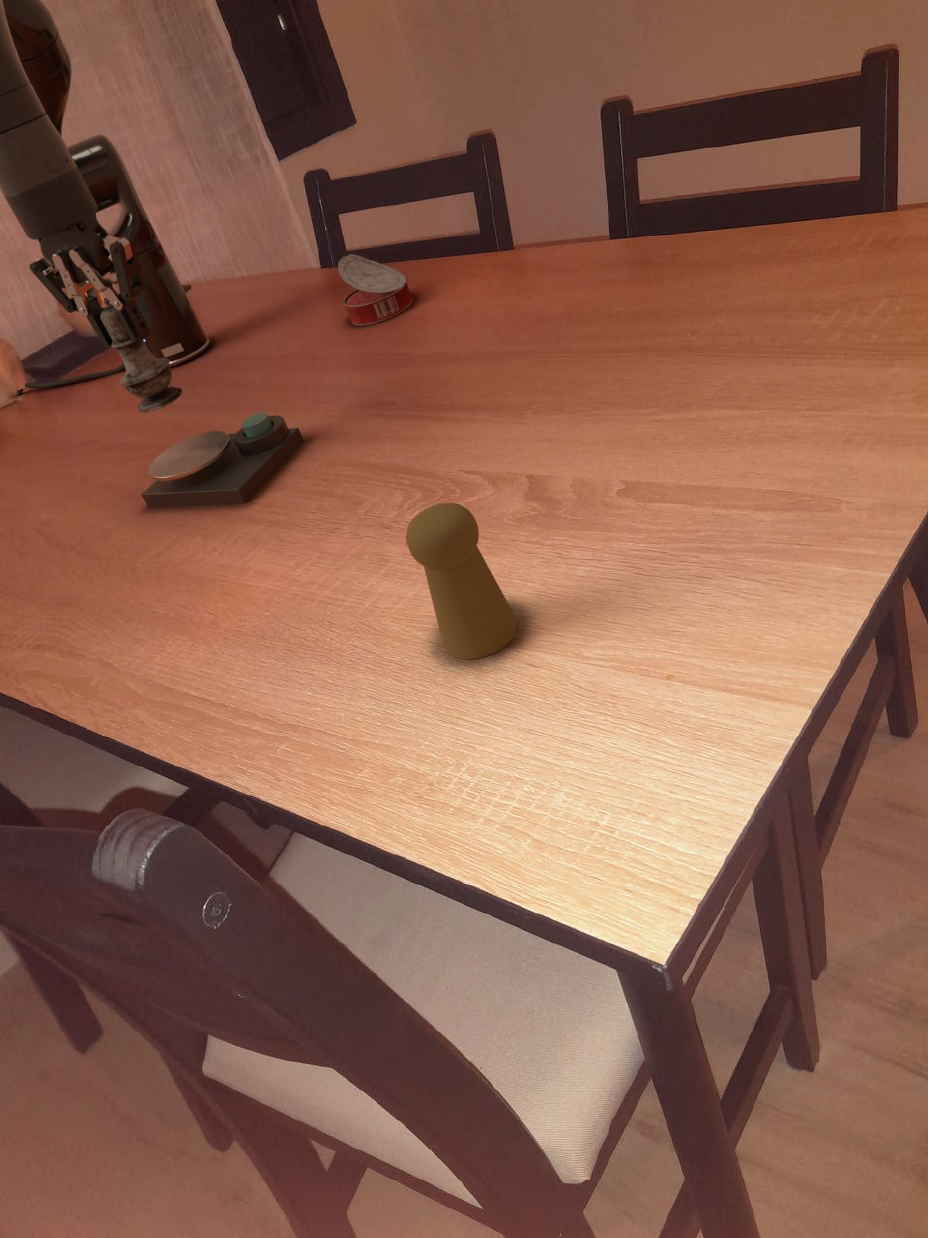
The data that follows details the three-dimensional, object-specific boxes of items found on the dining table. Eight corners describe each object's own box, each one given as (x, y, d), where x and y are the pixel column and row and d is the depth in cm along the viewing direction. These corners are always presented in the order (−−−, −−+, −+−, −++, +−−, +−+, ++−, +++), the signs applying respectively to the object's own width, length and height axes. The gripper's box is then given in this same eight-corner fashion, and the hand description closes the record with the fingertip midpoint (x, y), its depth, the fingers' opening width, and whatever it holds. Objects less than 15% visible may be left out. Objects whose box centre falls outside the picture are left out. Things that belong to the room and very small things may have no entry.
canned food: (394, 326, 149) (397, 258, 146) (422, 329, 141) (425, 257, 138) (326, 322, 144) (327, 252, 141) (350, 325, 135) (352, 250, 132)
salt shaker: (171, 407, 103) (114, 302, 96) (126, 417, 105) (68, 315, 98) (192, 382, 107) (140, 280, 100) (150, 392, 109) (95, 293, 102)
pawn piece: (440, 621, 76) (393, 507, 69) (512, 599, 75) (471, 481, 69) (445, 668, 71) (394, 550, 64) (523, 645, 70) (479, 523, 64)
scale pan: (133, 483, 109) (131, 479, 109) (184, 437, 116) (182, 433, 116) (197, 479, 104) (195, 475, 104) (246, 431, 111) (244, 428, 111)
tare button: (242, 439, 111) (236, 427, 110) (256, 425, 113) (251, 413, 112) (263, 437, 109) (257, 425, 108) (277, 423, 111) (272, 411, 110)
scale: (148, 508, 111) (133, 483, 109) (213, 446, 120) (200, 422, 118) (246, 504, 104) (231, 476, 102) (307, 439, 113) (295, 412, 111)
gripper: (113, 148, 91) (196, 317, 101) (18, 177, 98) (105, 333, 108) (61, 175, 86) (154, 350, 96) (-35, 204, 93) (61, 365, 103)
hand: (127, 340), depth 102 cm, fingers closed on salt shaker, 3 cm apart
